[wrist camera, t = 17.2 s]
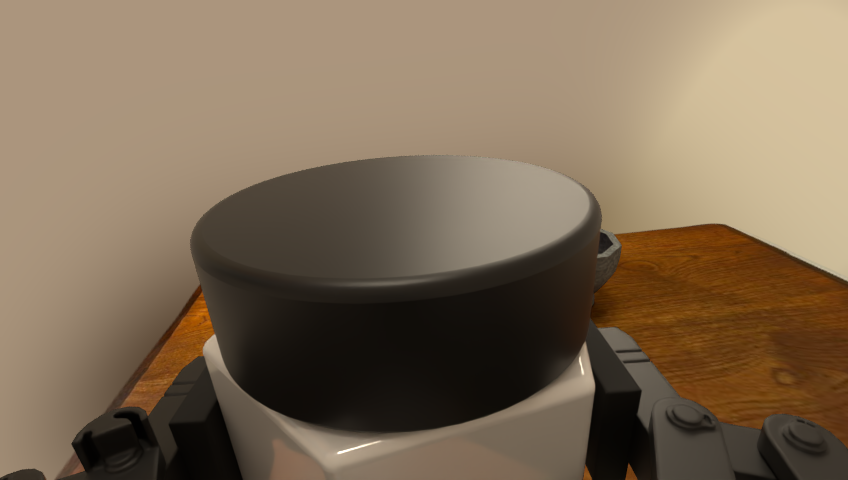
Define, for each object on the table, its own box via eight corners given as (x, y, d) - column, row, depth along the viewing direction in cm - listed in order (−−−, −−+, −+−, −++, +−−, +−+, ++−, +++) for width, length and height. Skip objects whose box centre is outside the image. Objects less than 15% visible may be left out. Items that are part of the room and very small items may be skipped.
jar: (615, 542, 14) (685, 177, 9) (460, 882, 8) (432, 400, 4) (413, 409, 19) (391, 143, 15) (241, 557, 14) (119, 207, 9)
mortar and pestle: (582, 272, 50) (592, 173, 46) (632, 314, 42) (651, 198, 37) (491, 285, 49) (492, 183, 44) (524, 332, 40) (530, 212, 35)
